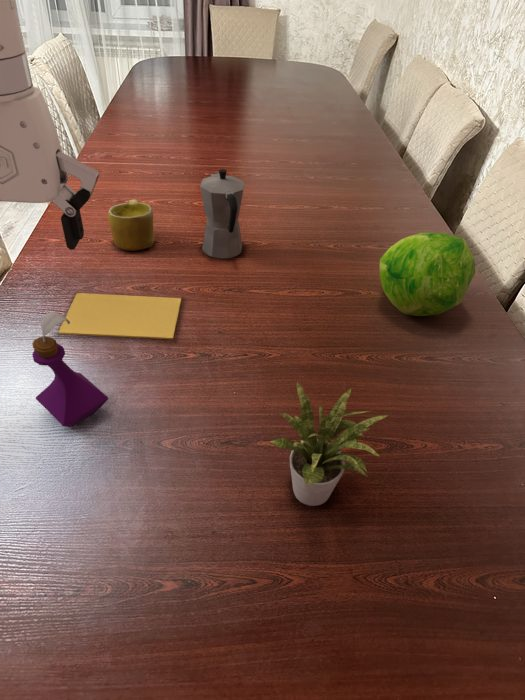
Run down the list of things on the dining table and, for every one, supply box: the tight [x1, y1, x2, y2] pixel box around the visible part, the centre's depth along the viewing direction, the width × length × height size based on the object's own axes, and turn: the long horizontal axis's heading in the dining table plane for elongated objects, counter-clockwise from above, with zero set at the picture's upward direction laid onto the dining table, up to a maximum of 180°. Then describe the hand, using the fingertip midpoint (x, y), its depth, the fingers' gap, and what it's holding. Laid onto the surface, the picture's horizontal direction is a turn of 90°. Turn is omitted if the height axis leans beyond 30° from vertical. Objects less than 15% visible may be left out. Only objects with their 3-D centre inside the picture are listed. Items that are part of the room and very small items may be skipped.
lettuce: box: [379, 232, 476, 317], centre depth 99 cm, size 17×20×16 cm
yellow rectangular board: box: [57, 292, 182, 340], centre depth 96 cm, size 20×12×1 cm, turn 90°
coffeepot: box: [199, 168, 246, 260], centre depth 110 cm, size 15×9×18 cm, turn 19°
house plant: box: [269, 380, 390, 507], centre depth 64 cm, size 14×14×16 cm
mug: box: [107, 199, 155, 252], centre depth 114 cm, size 12×10×10 cm
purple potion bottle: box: [31, 311, 109, 428], centre depth 72 cm, size 8×8×18 cm
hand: (31, 241), depth 59 cm, fingers open, 9 cm apart
